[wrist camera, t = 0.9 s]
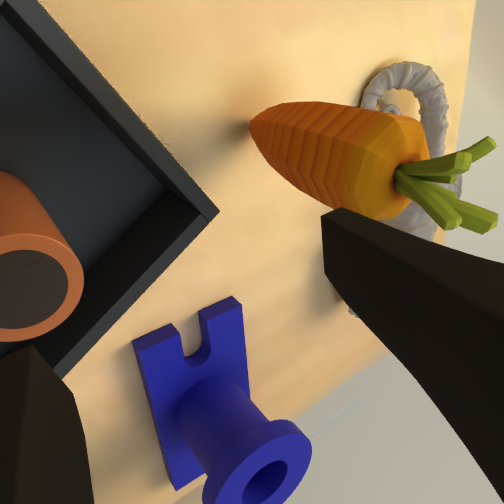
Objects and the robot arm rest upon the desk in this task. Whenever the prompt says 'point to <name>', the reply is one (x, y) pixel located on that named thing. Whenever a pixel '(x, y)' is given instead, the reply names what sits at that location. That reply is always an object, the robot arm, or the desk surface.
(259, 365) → the desk surface
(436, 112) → the seahorse
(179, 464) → the mount
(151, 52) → the desk surface
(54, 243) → the tube
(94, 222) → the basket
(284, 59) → the desk surface
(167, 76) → the desk surface
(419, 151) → the carrot
